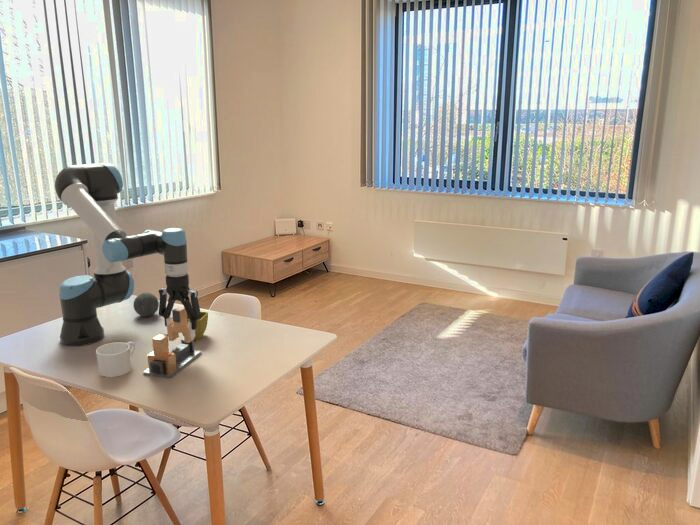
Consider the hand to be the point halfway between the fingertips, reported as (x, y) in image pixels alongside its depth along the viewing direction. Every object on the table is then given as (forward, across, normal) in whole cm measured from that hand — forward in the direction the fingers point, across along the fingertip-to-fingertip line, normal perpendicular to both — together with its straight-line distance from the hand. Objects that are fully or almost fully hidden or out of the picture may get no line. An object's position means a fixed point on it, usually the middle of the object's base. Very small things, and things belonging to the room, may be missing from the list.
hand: (181, 336), depth 198 cm
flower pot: (+8, -5, +17) cm, 19 cm away
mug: (+8, -15, -15) cm, 23 cm away
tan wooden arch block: (+1, 0, 0) cm, 1 cm away
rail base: (+8, 0, -6) cm, 10 cm away
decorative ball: (+8, -36, +32) cm, 49 cm away
